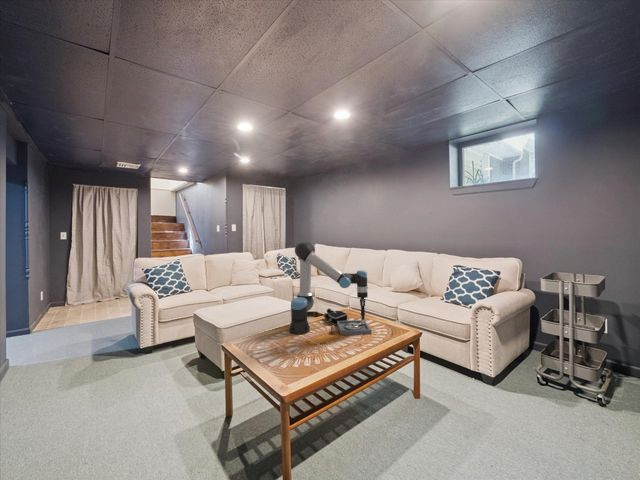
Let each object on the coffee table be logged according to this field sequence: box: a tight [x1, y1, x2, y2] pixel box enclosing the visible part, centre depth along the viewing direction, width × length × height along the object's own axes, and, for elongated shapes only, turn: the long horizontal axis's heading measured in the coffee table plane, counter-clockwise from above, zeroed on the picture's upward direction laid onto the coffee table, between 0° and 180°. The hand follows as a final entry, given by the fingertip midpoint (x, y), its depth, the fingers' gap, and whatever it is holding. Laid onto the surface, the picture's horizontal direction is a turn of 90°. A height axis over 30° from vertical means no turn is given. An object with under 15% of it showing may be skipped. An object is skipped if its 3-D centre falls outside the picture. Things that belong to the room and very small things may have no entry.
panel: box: [336, 319, 372, 336], centre depth 217 cm, size 22×22×3 cm
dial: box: [345, 323, 364, 330], centre depth 217 cm, size 14×13×6 cm
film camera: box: [323, 307, 348, 325], centre depth 236 cm, size 8×16×15 cm
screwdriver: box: [331, 323, 338, 335], centre depth 214 cm, size 3×16×3 cm, turn 3°
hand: (363, 323), depth 215 cm, fingers closed
